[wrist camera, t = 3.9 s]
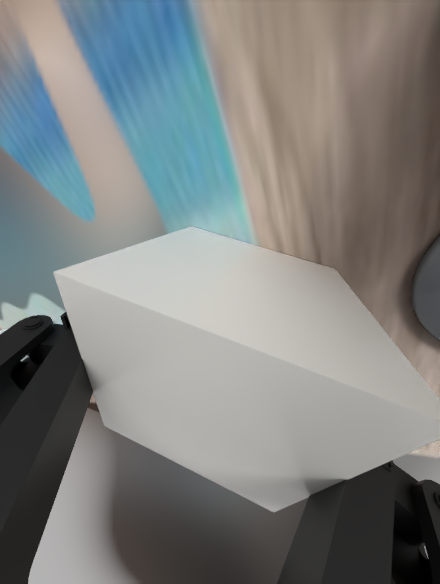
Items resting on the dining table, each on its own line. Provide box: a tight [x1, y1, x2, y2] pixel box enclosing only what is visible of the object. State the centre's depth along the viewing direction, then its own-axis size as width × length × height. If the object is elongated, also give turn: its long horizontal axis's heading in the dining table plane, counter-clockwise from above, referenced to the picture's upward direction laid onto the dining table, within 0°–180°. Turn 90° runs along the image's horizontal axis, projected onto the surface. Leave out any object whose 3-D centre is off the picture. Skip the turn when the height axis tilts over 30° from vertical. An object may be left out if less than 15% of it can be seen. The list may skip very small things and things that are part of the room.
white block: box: [53, 226, 440, 512], centre depth 10 cm, size 10×10×9 cm
